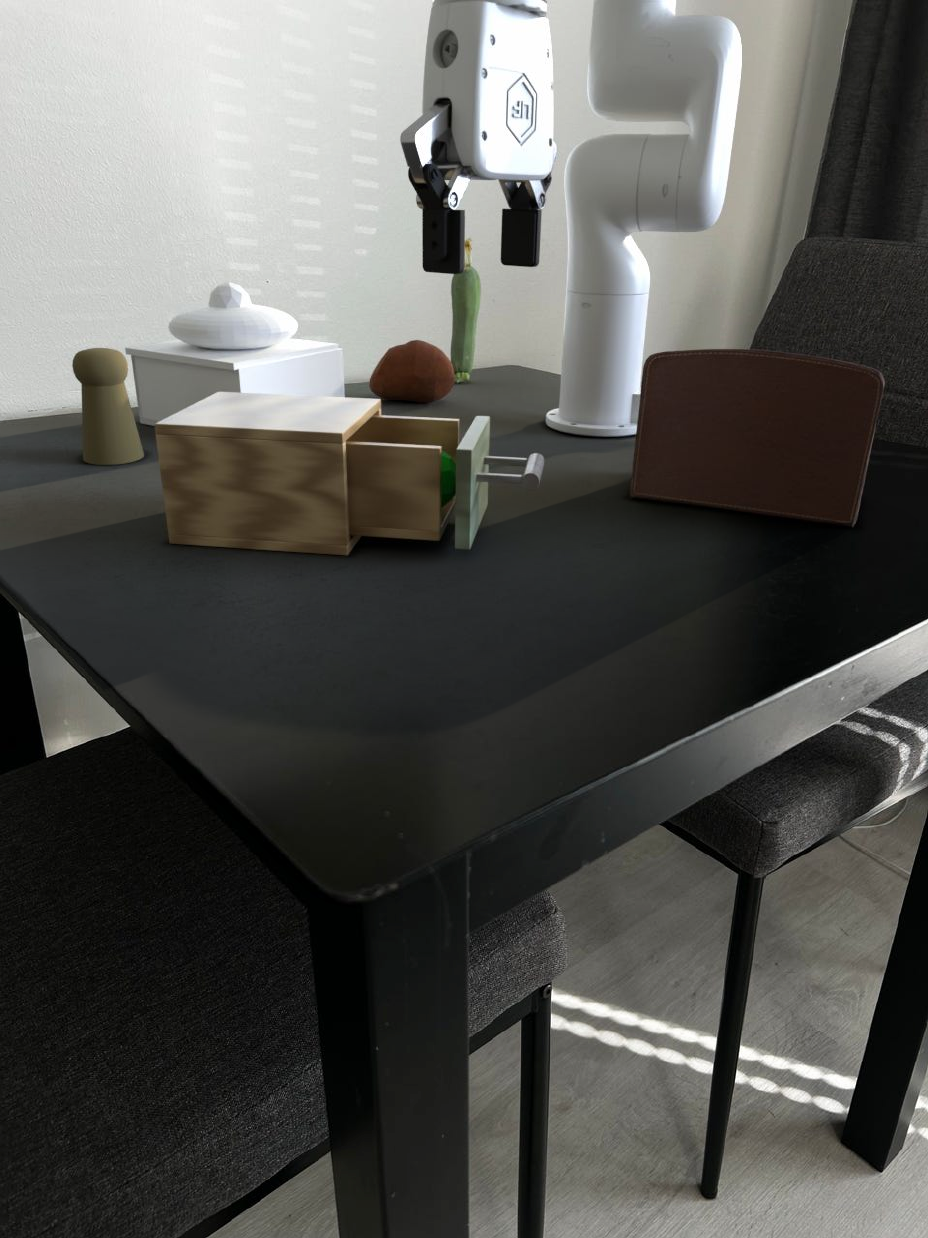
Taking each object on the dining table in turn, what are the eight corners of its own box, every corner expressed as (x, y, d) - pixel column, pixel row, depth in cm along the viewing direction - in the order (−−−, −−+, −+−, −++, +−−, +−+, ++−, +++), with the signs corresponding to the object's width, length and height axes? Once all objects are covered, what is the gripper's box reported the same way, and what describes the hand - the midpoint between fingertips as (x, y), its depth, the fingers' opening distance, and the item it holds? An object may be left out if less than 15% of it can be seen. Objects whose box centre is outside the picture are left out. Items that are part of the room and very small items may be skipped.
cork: (125, 466, 92) (108, 354, 88) (71, 462, 93) (52, 351, 89) (154, 451, 98) (141, 345, 93) (103, 448, 99) (87, 343, 94)
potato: (373, 393, 128) (372, 334, 124) (455, 395, 127) (456, 336, 124) (366, 405, 121) (364, 342, 117) (453, 407, 120) (454, 344, 117)
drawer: (543, 508, 79) (548, 418, 76) (534, 554, 69) (539, 453, 66) (338, 495, 82) (334, 408, 78) (299, 539, 71) (293, 440, 68)
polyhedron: (383, 462, 74) (409, 430, 70) (436, 471, 76) (464, 440, 72) (390, 516, 72) (417, 486, 68) (444, 524, 74) (473, 495, 71)
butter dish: (345, 415, 115) (340, 281, 108) (241, 445, 101) (228, 293, 94) (244, 398, 123) (233, 273, 116) (135, 423, 109) (116, 282, 102)
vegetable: (449, 378, 139) (450, 236, 130) (477, 378, 139) (480, 236, 130) (451, 384, 135) (452, 237, 126) (480, 384, 135) (483, 238, 126)
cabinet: (383, 506, 82) (381, 398, 78) (347, 555, 71) (342, 433, 67) (228, 496, 84) (218, 391, 80) (169, 543, 73) (153, 423, 69)
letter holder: (855, 528, 78) (890, 360, 73) (627, 499, 85) (642, 343, 79) (855, 496, 87) (887, 344, 81) (648, 472, 93) (663, 329, 87)
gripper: (458, -47, 51) (454, 279, 58) (603, 4, 64) (586, 266, 71) (357, -31, 55) (365, 272, 62) (513, 13, 68) (505, 261, 75)
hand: (483, 268), depth 67 cm, fingers open, 9 cm apart
